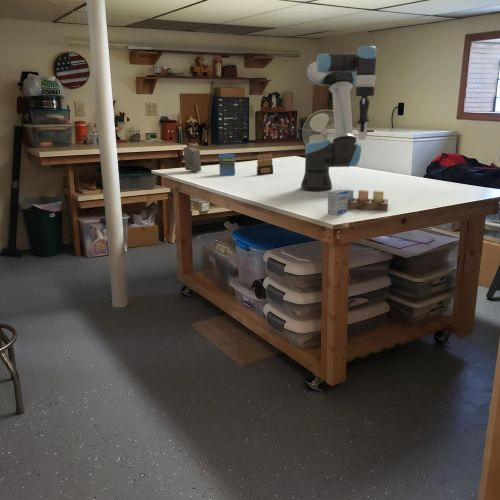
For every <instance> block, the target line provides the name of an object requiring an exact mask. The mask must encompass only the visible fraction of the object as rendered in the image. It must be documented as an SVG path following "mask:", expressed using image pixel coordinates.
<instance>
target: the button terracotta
mask: <svg viewBox="0 0 500 500" xmlns="http://www.w3.org/2000/svg"><path fill="white" fill-rule="evenodd" d="M357 198H358V202H368V199H369V190H367V189H359V190H358V195H357Z"/></svg>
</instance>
